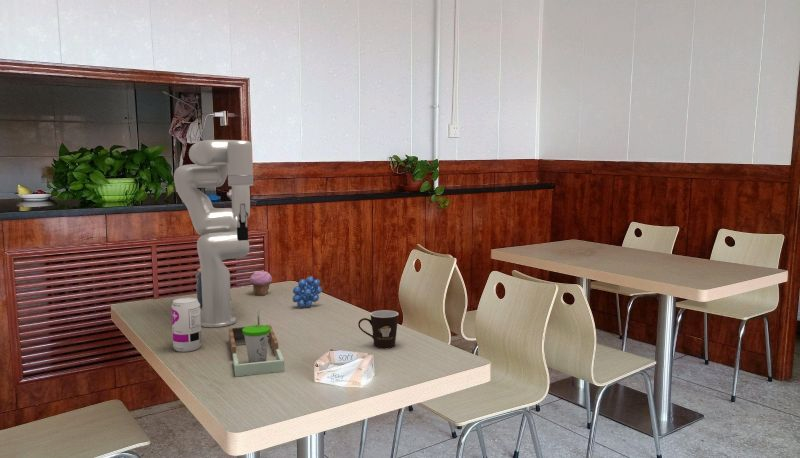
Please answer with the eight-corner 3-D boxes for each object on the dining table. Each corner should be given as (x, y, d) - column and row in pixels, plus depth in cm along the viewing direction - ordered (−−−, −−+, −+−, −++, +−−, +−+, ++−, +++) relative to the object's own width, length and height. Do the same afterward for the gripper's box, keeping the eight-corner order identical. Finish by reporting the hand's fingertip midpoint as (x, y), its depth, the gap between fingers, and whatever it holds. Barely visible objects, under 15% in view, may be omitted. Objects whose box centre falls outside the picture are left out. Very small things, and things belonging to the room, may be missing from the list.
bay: (233, 363, 176) (232, 353, 176) (279, 359, 180) (279, 349, 180) (235, 376, 166) (234, 365, 166) (284, 371, 170) (284, 360, 170)
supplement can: (175, 354, 185) (173, 304, 183) (171, 346, 192) (169, 298, 190) (203, 350, 189) (201, 301, 187) (199, 342, 196) (196, 295, 194)
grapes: (318, 303, 246) (318, 273, 245) (324, 307, 240) (323, 276, 239) (289, 306, 241) (289, 275, 240) (294, 310, 235) (293, 279, 234)
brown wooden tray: (229, 340, 198) (228, 328, 198) (271, 336, 202) (270, 324, 201) (232, 360, 179) (232, 347, 179) (278, 356, 183) (278, 342, 183)
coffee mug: (402, 342, 195) (402, 311, 194) (393, 351, 187) (392, 318, 186) (367, 339, 199) (367, 308, 198) (357, 347, 191) (356, 315, 190)
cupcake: (247, 296, 258) (246, 272, 257) (255, 291, 267) (254, 268, 266) (267, 297, 257) (267, 273, 256) (275, 292, 265) (274, 269, 264)
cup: (257, 371, 171) (255, 317, 169) (237, 365, 175) (235, 313, 173) (277, 362, 177) (276, 311, 175) (257, 358, 181) (255, 307, 179)
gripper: (226, 180, 198) (228, 237, 200) (229, 182, 184) (231, 244, 186) (251, 179, 201) (252, 236, 203) (255, 181, 186) (257, 242, 189)
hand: (242, 239), depth 195 cm, fingers closed
